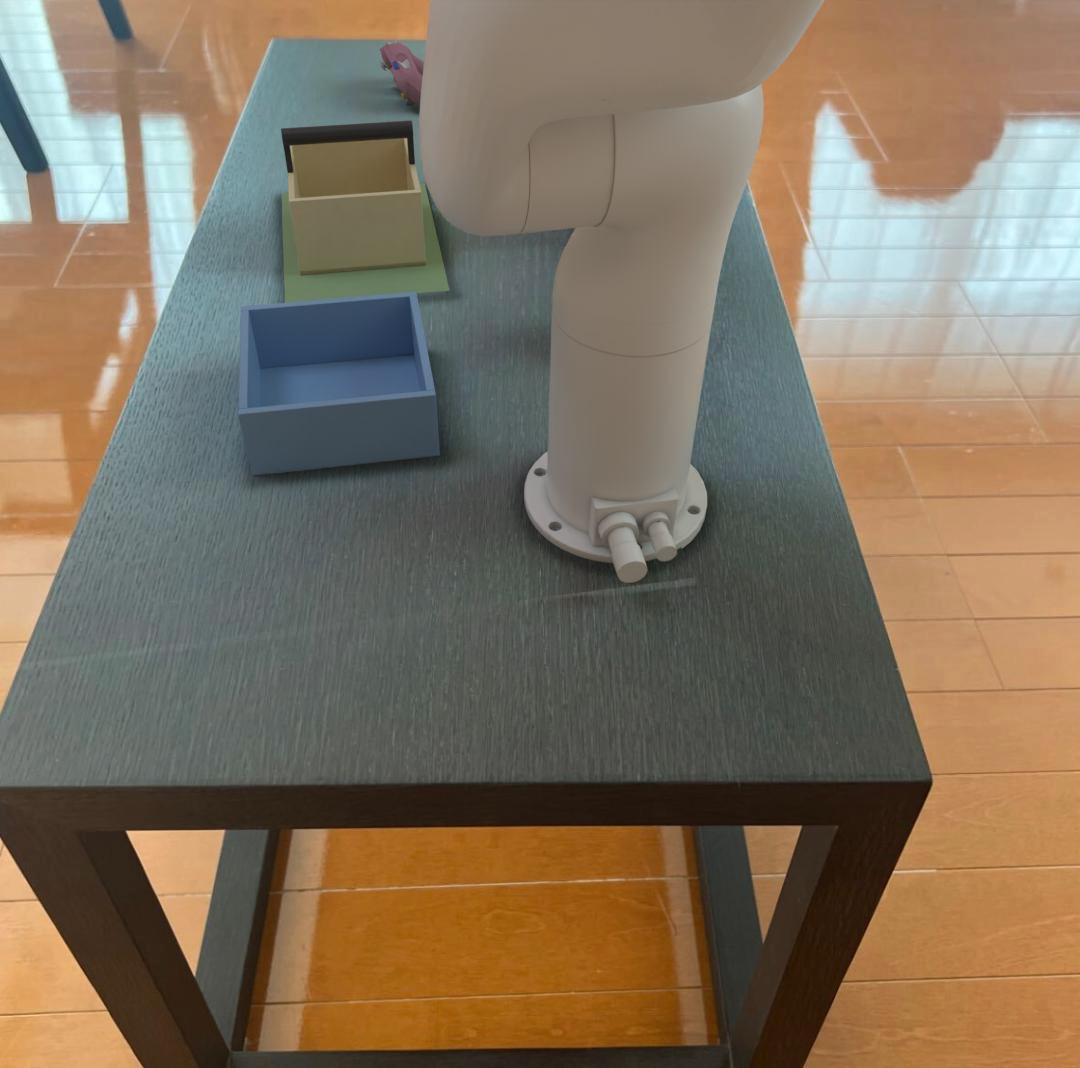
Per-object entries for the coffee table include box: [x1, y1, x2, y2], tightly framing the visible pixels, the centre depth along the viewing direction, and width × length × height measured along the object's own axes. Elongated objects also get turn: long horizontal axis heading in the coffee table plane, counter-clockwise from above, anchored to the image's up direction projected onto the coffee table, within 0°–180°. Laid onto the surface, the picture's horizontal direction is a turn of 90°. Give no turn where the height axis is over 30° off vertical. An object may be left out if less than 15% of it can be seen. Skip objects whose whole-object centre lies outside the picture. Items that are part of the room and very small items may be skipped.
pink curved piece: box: [379, 38, 424, 106], centre depth 120 cm, size 10×5×7 cm, turn 17°
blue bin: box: [237, 292, 441, 476], centre depth 79 cm, size 13×13×6 cm
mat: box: [281, 182, 451, 303], centre depth 99 cm, size 20×14×1 cm
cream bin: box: [280, 119, 426, 275], centre depth 94 cm, size 11×11×11 cm
